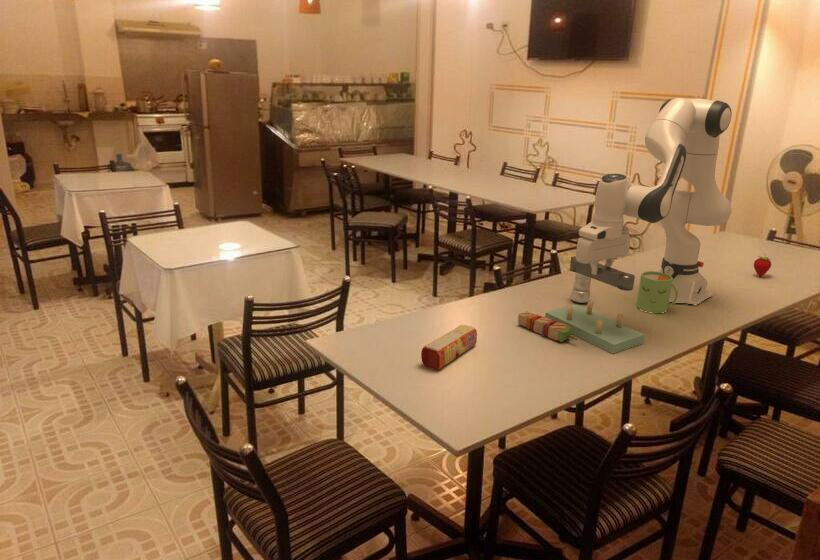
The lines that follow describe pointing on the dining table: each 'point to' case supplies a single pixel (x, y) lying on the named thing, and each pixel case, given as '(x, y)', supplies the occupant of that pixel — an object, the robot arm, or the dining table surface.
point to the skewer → (545, 326)
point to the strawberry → (762, 265)
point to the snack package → (448, 347)
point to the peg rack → (597, 328)
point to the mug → (655, 292)
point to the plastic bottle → (581, 289)
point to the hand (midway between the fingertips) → (600, 273)
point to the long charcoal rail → (604, 274)
